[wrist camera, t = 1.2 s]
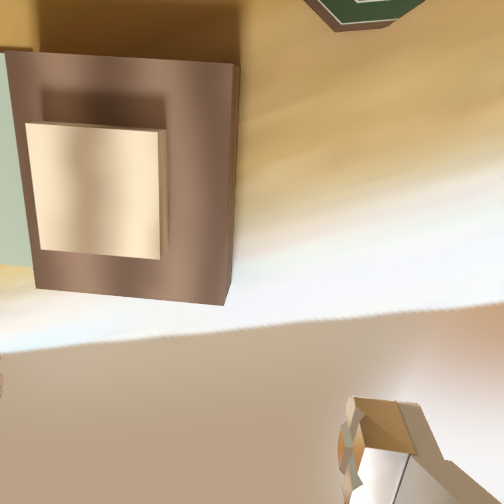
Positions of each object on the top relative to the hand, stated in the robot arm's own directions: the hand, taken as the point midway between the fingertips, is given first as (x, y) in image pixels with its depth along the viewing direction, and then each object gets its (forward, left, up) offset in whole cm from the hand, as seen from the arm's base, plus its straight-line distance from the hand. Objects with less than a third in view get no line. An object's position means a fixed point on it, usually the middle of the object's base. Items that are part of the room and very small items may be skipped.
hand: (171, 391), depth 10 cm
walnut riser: (+8, 0, -23) cm, 25 cm away
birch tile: (+9, 0, -19) cm, 21 cm away
